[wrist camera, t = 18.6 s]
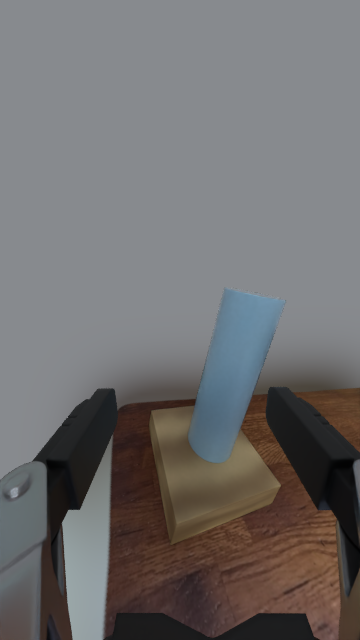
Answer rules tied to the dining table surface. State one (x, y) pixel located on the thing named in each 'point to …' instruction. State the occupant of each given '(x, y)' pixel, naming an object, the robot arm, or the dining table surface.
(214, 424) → the light blue cylinder
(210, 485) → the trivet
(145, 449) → the dining table surface
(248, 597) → the dining table surface
